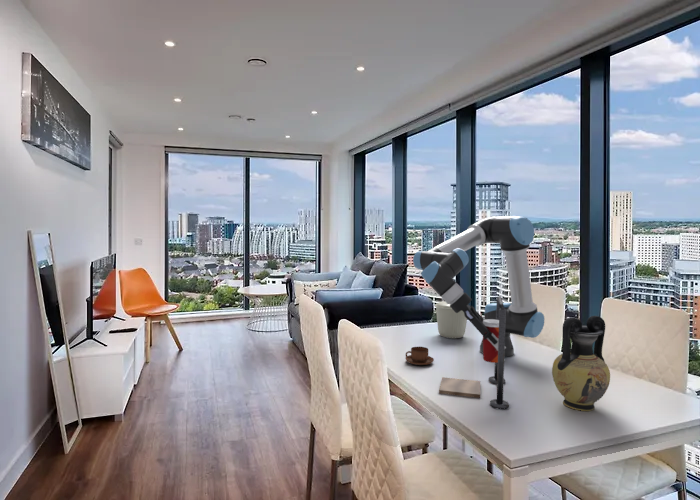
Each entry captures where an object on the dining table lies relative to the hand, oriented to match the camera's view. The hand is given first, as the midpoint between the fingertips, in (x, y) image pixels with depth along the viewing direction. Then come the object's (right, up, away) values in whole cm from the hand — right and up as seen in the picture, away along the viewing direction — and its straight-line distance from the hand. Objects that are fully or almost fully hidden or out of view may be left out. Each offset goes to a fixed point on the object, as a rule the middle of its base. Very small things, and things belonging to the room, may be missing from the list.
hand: (502, 346), depth 159 cm
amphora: (+22, -18, -9) cm, 30 cm away
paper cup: (-3, -5, +1) cm, 6 cm away
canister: (0, -12, +82) cm, 83 cm away
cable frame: (-1, -17, +1) cm, 17 cm away
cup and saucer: (-24, -15, +35) cm, 45 cm away
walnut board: (-14, -16, +5) cm, 22 cm away
